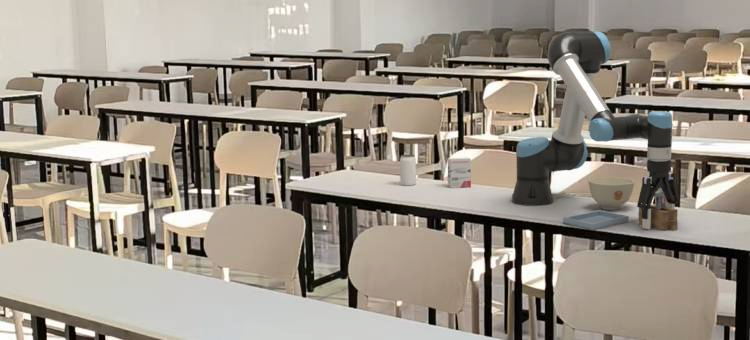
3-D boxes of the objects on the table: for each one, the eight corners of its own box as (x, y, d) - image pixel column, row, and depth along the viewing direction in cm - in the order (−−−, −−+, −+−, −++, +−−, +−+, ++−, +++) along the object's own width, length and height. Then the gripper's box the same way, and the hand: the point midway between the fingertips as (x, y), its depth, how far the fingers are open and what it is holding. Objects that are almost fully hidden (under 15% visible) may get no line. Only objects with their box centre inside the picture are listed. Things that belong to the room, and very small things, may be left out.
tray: (563, 223, 339) (563, 217, 338) (599, 215, 349) (599, 210, 349) (592, 230, 328) (592, 224, 328) (628, 221, 339) (628, 216, 338)
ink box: (468, 185, 411) (467, 156, 409) (471, 187, 406) (470, 158, 404) (447, 186, 410) (447, 157, 408) (450, 188, 405) (450, 159, 403)
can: (416, 185, 412) (415, 156, 410) (400, 186, 412) (399, 157, 410) (415, 182, 418) (415, 154, 416) (400, 183, 418) (399, 154, 416)
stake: (652, 226, 331) (653, 193, 329) (660, 224, 333) (660, 191, 332) (656, 227, 330) (657, 193, 328) (664, 225, 332) (665, 192, 330)
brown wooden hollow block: (638, 225, 334) (638, 207, 333) (651, 222, 337) (651, 204, 336) (669, 231, 324) (669, 213, 323) (681, 228, 328) (682, 210, 327)
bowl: (634, 204, 366) (634, 177, 365) (634, 213, 351) (634, 185, 349) (589, 203, 370) (589, 176, 369) (587, 212, 355) (587, 184, 353)
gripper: (645, 165, 318) (643, 233, 321) (691, 156, 331) (689, 222, 335) (626, 162, 324) (625, 229, 327) (672, 154, 337) (671, 218, 341)
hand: (657, 225), depth 331 cm, fingers open, 11 cm apart
